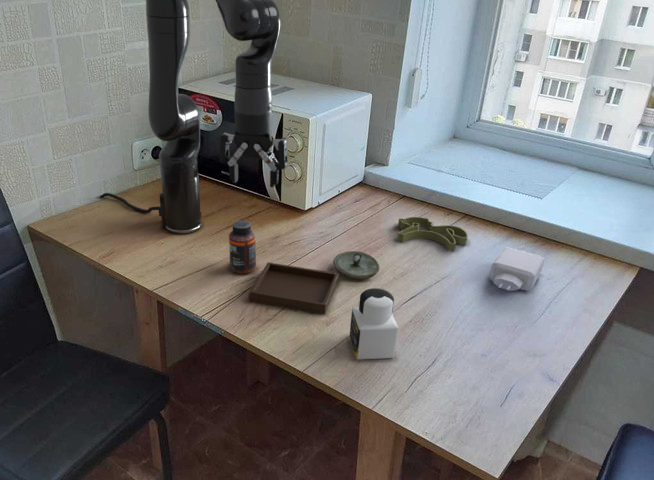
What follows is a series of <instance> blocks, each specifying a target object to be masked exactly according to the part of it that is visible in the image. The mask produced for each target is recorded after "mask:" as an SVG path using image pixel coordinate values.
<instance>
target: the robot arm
mask: <svg viewBox="0 0 654 480" xmlns="http://www.w3.org/2000/svg"><path fill="white" fill-rule="evenodd" d="M214 1H215V3H216V6H217V9H218V12H219V14H220V18H221V20H222V24H223V26H224V29H225V30H226V32H227V33H228V34H229V35H230V37H232V38H233V39H235V40H236V41H239V42H247V41H250V45H249V47H248V49H246V50H245V51H243V52H241V53H239V54H238V55H237V56H236V58H235V62H234V79H235V82H234V83H235V88H234V102H233V108H234V131H235V132H234V134H232V133H230V132H229V131H225V132H224V133H222V134H221V135H220V138H219V140H220V141H219V162H220V163H222V164H223V163H224V164H227V165H228V179H229V180H230V181H231V183H232V184H236V183H237V182H238V181H239V163H237V162H238V161H239V159H240V158H241V157H242V156H243V157H245V158H248V159H249V158H253V159H257V160H260V159H261V160H262V161H263V162H264V163H265V164H267V166H268V167H269V169H270V171H269V187H270V188H272V189H273V188H275V186H277V185H278V183H279V181H280V179H279V178H280V170H284V169H286V167H287V166H288V165H289V157H288V155H289V154H288V153H289V152H288V139H287V138H286V137H282V138H274V137H273V134H272V133H273V93H272V92H273V91H272V63H273V58H274V56H275V51H276V46H277V43H278V40H279V35H280V31H281V24H282V23H281V21H282V20H281V13H280V9H279V7H278V5H277V3H276V2H275V1H274V0H214ZM145 17H146V18H145V19H146V32H147V44H148V67H149V69H148V70H149V72H148V73H149V83H148V85H149V86H148V107H147V108H148V110H147V111H148V112H147V113H148V114H147V115H148V122H149V123H148V124H149V126H150V129H151V131H152V132H153V133H152V134H153V135H154V136H155V137H156V138H157V139H159V140H161V141H163V142H165V144H164V145H163V147H162V149H161V150H160V151H159V155H158V159H159V169H160V170H159V171H160V180H161V192H160V193H159V195H158V196H159V204H160V205H159V206H150V207H148V209H145V208H141V207H137V206H135V205H133V204H131V203H130V202H128V201H127V200H126V199H125V198H123V197H121V196H118V195H116V194H113V193H111V192H104V193H102V194H103V195H102V194H101V195H100V196H99V198H100V199H103V198H105V197H109V198H113V199H115V200H117V201H120V202H122V203H123V204H124V205H125V206H126V207H128V208H129V209H132V210H134V211H137V212H139V213H144V214H150V213H152V211H158V216H159V217H161V226H162V229H163V230H166V231H168V233H169V232H170V233H173V234H176V235H177V234H178V235H179V234H180V235H184V234H185V235H186V234H192V233H194V232H197V231H199V230H200V229H201V227H202V226H203V225H202V224H203V223H202V218H203V216H202V211H201V197H200V196H201V195H200V181H199V165H198V156H199V153H200V150H201V118H200V113H199V109H198V106H197V104H196V102H195V101H194V99H193V98H191V97H190V96H189V95H187V94H184V93H179V92H178V87H179V86H178V85H179V77H180V72H181V69H182V66H183V64H184V61H185V57H186V54H187V51H188V49H189V43H190V39H191V20H190V19H191V16H190V4H189V2H188V0H145ZM232 142H233V143H234V144H235V146H236V147H237V149H236V151H235V152H234V154H233V155H232V156H230V146H231V144H232ZM273 146H274V147H275V149H276V151H278V160H277V158H276V157H275V153H274V152H273V151H272V149H271V148H272V147H273Z"/></svg>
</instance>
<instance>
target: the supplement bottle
mask: <svg viewBox="0 0 654 480" xmlns="http://www.w3.org/2000/svg"><path fill="white" fill-rule="evenodd" d="M251 224H252V223H251V222H249V221H247V220H237V221H235V222H233V223H232V231H230V233H229V234H228V246H229V266H230V270H231V271H232V272H233V273H235V274H240V275H246V274H251V273H252V272H254V271H255V270H256V267H257V257H256V256H257V254H256V252H257V251H256V249H257V248H256V234H255V232H254V231H253V230H252V227H251V226H252V225H251Z"/></svg>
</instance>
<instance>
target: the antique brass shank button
mask: <svg viewBox="0 0 654 480" xmlns="http://www.w3.org/2000/svg"><path fill="white" fill-rule="evenodd" d="M332 262H333V263H332V264H333V268H334V269H335V270H336V271H337V273H339V274H341V275H342V276H345V277H347V278H350V279H354V280H366V279H369V278H372V277H374V276H375V275H376V274H377V273H378V272H379V271H380V264H379V263H378V261H377V259H375V257H373V256H372V255H370V254H368V253H366V252H363V251H357V250H354V251H353V250H352V251H344V252H340V253H338V254H337V255H336V256H335V257H334V258H333V261H332Z"/></svg>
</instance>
